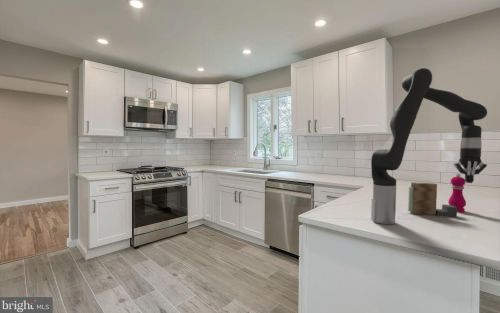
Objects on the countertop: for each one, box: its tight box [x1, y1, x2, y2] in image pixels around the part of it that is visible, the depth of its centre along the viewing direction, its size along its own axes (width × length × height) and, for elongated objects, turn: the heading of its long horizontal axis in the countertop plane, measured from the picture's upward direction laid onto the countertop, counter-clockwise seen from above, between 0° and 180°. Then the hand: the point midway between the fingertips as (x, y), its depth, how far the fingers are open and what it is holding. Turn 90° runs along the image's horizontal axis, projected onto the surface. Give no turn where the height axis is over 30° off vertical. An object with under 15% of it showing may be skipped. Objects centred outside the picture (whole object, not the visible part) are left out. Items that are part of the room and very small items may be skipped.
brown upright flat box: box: [409, 181, 438, 217], centre depth 123 cm, size 10×4×16 cm, turn 75°
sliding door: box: [407, 186, 413, 212], centre depth 123 cm, size 12×1×12 cm, turn 75°
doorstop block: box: [436, 204, 458, 218], centre depth 121 cm, size 8×5×5 cm, turn 75°
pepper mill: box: [447, 173, 467, 213], centre depth 128 cm, size 7×7×20 cm
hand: (468, 182), depth 117 cm, fingers closed
